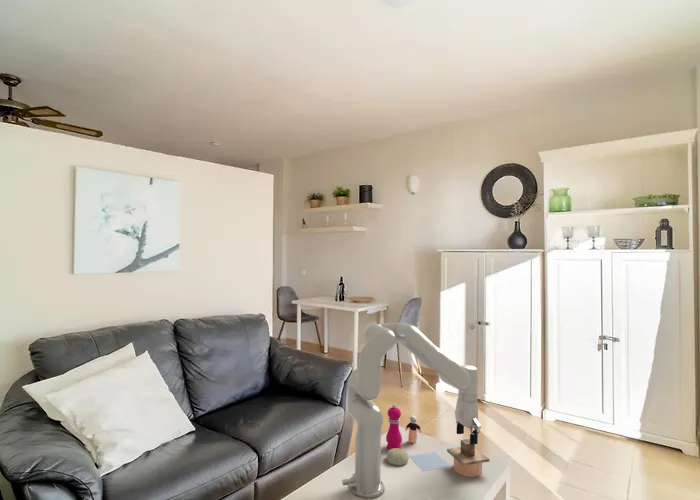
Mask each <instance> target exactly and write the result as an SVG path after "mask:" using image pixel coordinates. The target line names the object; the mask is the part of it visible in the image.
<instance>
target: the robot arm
mask: <svg viewBox="0 0 700 500" xmlns="http://www.w3.org/2000/svg"><path fill="white" fill-rule="evenodd" d="M364 338H365V341H366V343H365V344H364V345H363V347H362V348H361V350H360V352H359V357H358V364H357V368H355V369H354V370H352V372H351V373H350V376H349V377H348V386H347V388H348V389H347V394H348V395H347V407H348V409H347V410H348V413H349V414H350V416H351V417H352V419H353V420H354V421H355V423H356V424H357V430H356V431H355V432H356V433H355V439H354V440H355V442H354V443H355V445H354V448H355V450H354V451H355V453H354V456H355V457H354V458H355V459H354V473H353V474H352V477H350V478H344V479H342V480H341V484H342V486H347V489H350V490H351V492H352V493H353V494H354V495H356V496H357V497H359V498H365V499H373V498H377V497H380V496H381V495H382V494H383V493H384V492H385V484H384V483H383V481H382V480H381V460H382V459H381V455H382V454H381V453H382V450H381V449H382V443H381V442H382V441H381V440H382V429H383V424H384V415H383V412H382V410H381V408H380V407H379V406H378V405H377V404H376V403H375V402H373V401H374V400H376V399H377V398H378V397H379V395H380V393H381V375H382V374H381V372H382V371H381V368H382V361H383V359H384V357H385V355H386V354H387V353H388V352H389V351H391V349H393V348H394V346H395V344H400V345H402V346H404V347H405V348H406V349H407V350H408V351H409V352H410V353H411V354H412V355H414V356H415V357H416V359H418V360H419V361H420V362H421V363H422V364H424V365H425V366H426V367H428V368H430V369H431V370H433V371H435V372H437V373H438V376H439V379H440V380H441V382H443V383H445V384H447V385H448V386H451V387H452V388H454V389H456V390H458V392H457V393H458V394H457V395H458V397H457V400H456V405H455V410H454V415H455V417H454V418H455V424H456V434H457V435H462V434H463V435H464V434H465V433H464V432H465V428H466V429H469V431H470V434H469V439H470V444H471V445H473V444H475V445H478V440H479V439H478V437H479V433H480V432H481V429H482V426H481V424H480V422H479V406H478V386H479V382H478V381H479V380H478V379H479V371H478V368H477V367H476V366H474V365H472V364H471V365H470V364H463V365H460V364H459V363H458V362H456V361H455V360H454V359H453V358H452V357H450V356H449V355H448V354H447V353H445V352H444V351H443V350H442V349H440V348H439V347H438V346H437V345H435V343H433V342H432V341H431V340H430V339H429V338H428V337H427V336H426V335H425V334H424V333H423V332H421V331H420V330H419V328H417V327H416V326H414V325H412V324H409V323H406V322H390V323H389V322H387V323H385V322H384V323H374V324H370V325H369V326H368V327H367V328H366V330H365V332H364Z"/></svg>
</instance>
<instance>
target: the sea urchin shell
mask: <svg viewBox="0 0 700 500" xmlns="http://www.w3.org/2000/svg"><path fill="white" fill-rule="evenodd" d="M409 458H410V457H409V455H408V453H407V452H406V451H405V450H404V449H402V448H401V449H399V448H393V449H390V450H388V451H387V452H386V460H387V462H388V463H389V464H390V465H394V466H404V465H406V464H407V463H408V462H409Z"/></svg>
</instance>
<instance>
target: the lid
mask: <svg viewBox="0 0 700 500" xmlns="http://www.w3.org/2000/svg"><path fill="white" fill-rule="evenodd" d="M475 445H476V444H473V445H471V444H470V438H468V439H467V438H466V439H460V447H451V448H447V449H446V452H447V453H448V454H449V455H450V456H451V457H453V459H454V458H455V459H456V460H457V461H458V462H459V463H461V464H462V465H470V464H477V463H482V464H483V463H488V462H490V458H489V457H487V456H486V455H485V454H483V453H482V452H481V451H480V450H478V449H477V448H476V446H475Z"/></svg>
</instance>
